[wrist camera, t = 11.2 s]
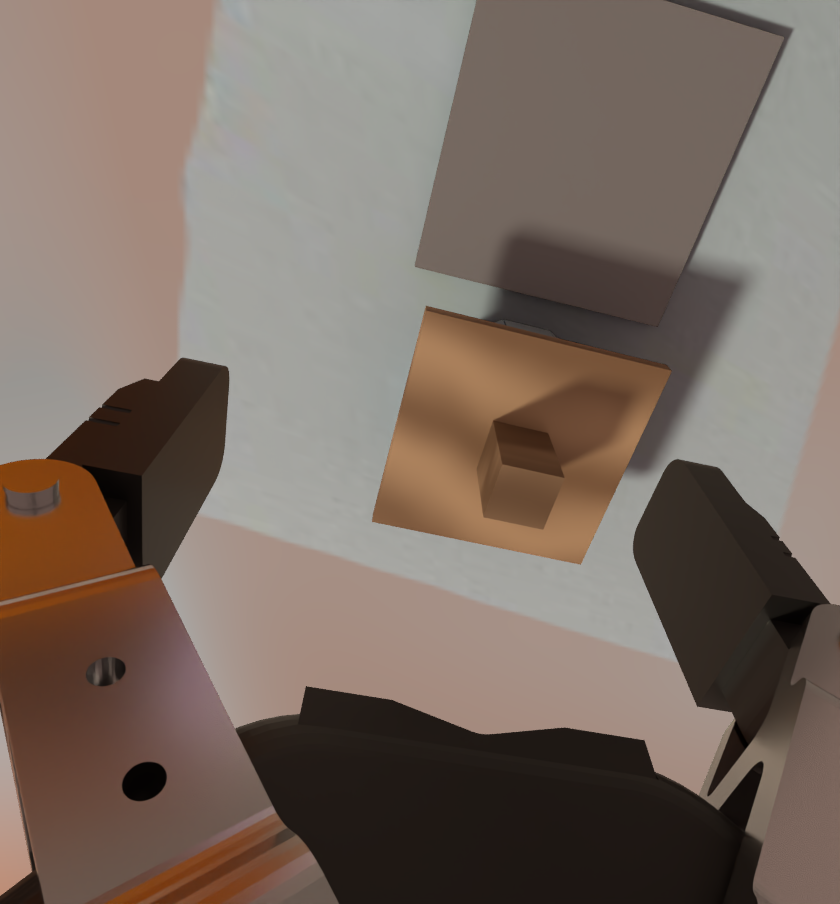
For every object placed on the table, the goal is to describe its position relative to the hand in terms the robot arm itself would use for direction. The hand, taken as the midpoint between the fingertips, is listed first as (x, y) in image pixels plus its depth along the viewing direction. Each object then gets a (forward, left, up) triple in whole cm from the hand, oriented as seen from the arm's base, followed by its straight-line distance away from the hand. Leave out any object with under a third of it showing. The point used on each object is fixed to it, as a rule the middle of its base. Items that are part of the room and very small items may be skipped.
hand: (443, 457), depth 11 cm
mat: (-5, +7, -25) cm, 26 cm away
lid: (+9, +7, -20) cm, 23 cm away
